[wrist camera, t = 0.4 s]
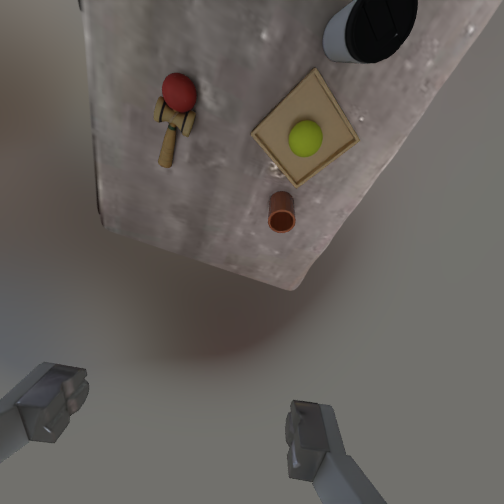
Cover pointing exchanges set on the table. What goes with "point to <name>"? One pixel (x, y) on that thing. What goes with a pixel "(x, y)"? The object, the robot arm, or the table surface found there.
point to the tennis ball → (305, 138)
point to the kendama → (175, 112)
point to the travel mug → (369, 30)
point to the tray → (300, 109)
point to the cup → (281, 212)
